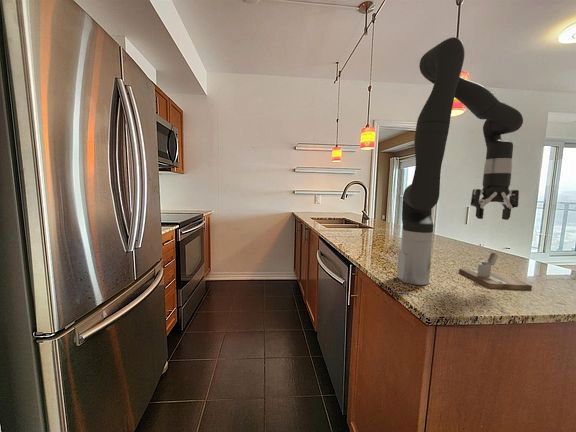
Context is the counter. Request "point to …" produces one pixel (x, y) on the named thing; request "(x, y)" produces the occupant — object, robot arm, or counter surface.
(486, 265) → the lighter
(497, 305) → the counter surface
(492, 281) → the brown flat slab
